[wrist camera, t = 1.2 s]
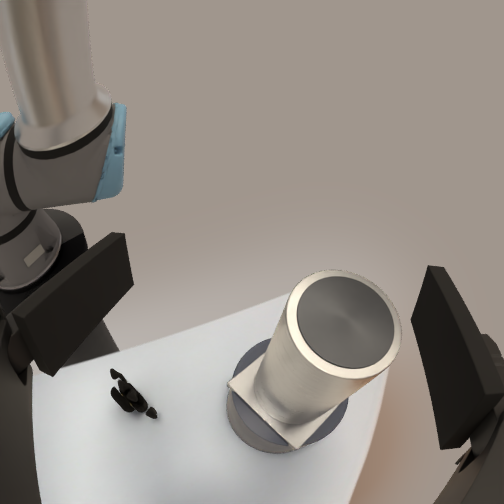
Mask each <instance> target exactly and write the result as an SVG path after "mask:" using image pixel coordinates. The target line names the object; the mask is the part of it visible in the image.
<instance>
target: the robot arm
mask: <svg viewBox="0 0 504 504" xmlns="http://www.w3.org/2000/svg"><path fill="white" fill-rule="evenodd" d="M87 5H88V4H87V0H0V47H1V52H2V56H3V59H4V63H5V67H6V70H7V73H8V77H9V80H10V83H11V87H12V90H13V93H14V96H15V99H16V102H17V105H18V107H19V110H20V115H19V116H18V118H17V121H16V123H14V121H15V118H14V117H13V116H12V114H11V113H10V112H3V113H0V291H1V292H3V293H6V294H18V293H23V292H26V291H28V290H30V289H32V288H34V287H36V286H38V285H39V284H40V283H42V282H43V281H44V280H45V279H46V278H47V277H48V276H49V275H50V274H51V273H52V272H53V271H54V269H55V268H56V266H57V265H58V263H59V261H60V258H61V256H62V252H63V238H62V235H61V233H60V230H59V228H58V226H57V225H56V223H55V222H54V221H53V220H52V219H51V218H50V217H49V215H48V214H47V213H46V212H45V211H44V210H43V208H49V207H56V206H63V205H71V204H78V203H87V202H96V201H97V200H101V199H106V198H111V197H114V196H116V195H118V194H119V193H120V191H121V190H122V187H123V175H124V172H123V171H124V147H125V128H126V127H125V126H126V106H125V105H124V104H118V103H114V104H113V105H112V101H111V95H110V92H109V91H108V89H107V88H106V87H105V86H104V85H102V84H100V83H97V82H95V79H94V72H93V64H92V56H91V45H90V34H89V21H88V6H87ZM133 285H134V282H133V277H132V273H131V267H130V262H129V256H128V251H127V245H126V239H125V234H124V233H115V232H111V233H110V234H109V235H107V236H106V237H105V238H103V239H102V240H100V241H99V242H98V243H96V244H95V245H94V246H92V247H91V248H90V249H88V250H87V251H86V252H84V253H83V254H82V255H80V256H79V257H78V258H76V259H75V260H74V261H72V262H71V263H70V264H69V265H67V266H66V267H65V268H64V269H62V270H61V271H60V272H58V273H57V274H56V275H55V276H54V277H52V278H51V279H50V280H49V281H47V282H46V283H44V284H43V285H42V286H40V287H39V288H38V289H37V290H36V291H35V292H33V293H32V294H31V295H30V296H29V297H27V298H26V299H25V300H24V301H23V302H22V303H20V304H19V305H18V306H17V307H16V308H15V309H14V310H12V311H11V312H10V313H9V314H8V315H7V316H5V314H4V311H3V309H2V307H1V304H0V504H42V503H41V498H40V492H39V486H38V479H37V472H36V463H35V453H34V441H33V422H32V376H33V372H32V367H31V365H30V363H31V362H32V361H33V360H34V361H35V362H36V364H37V366H38V368H39V370H40V371H42V372H44V373H46V374H48V375H50V376H52V377H53V376H54V375H55V374H56V373H57V371H58V370H59V369H60V368H61V367H62V365H63V364H64V363H65V362H66V361H67V359H68V358H69V357H70V356H71V355H72V354H73V352H74V351H75V350H76V349H77V348H78V347H79V345H80V344H81V343H82V342H83V341H84V340H85V338H86V337H87V336H88V335H89V334H90V333H91V332H92V330H93V329H94V328H95V327H96V326H97V325H98V324H99V322H100V321H101V320H102V319H103V318H104V317H105V316H106V315H107V314H108V312H109V311H110V310H111V309H112V308H113V307H114V306H115V305H116V304H117V303H118V301H119V300H120V299H121V298H122V297H123V296H124V295H125V294H126V293H127V292H128V291H129V289H130V288H131V287H132V286H133ZM411 323H412V326H413V330H414V333H415V336H416V340H417V344H418V347H419V351H420V355H421V358H422V363H423V366H424V370H425V375H426V379H427V383H428V387H429V392H430V396H431V401H432V406H433V411H434V416H435V422H436V427H437V432H438V438H439V445H440V449H441V450H444V449H453V448H460V447H461V446H462V445H463V444H464V443H465V442H466V441H467V440H468V439H469V437H470V441H471V447H470V449H469V450H468V451H467V452H466V453H465V454H464V455H462V457H461V458H459V459H458V461H457V462H456V463H455V464H457V465H458V464H459V463H460V464H459V466H458V467H457V469H456V471H455V472H454V474H453V475H452V477H451V478H450V480H449V482H448V483H447V485H446V486H445V488H444V489H443V491H442V492H441V493H440V495H439V496H438V498H437V499H436V500H435V502H434V504H504V359H503V357H501V353H500V350H499V348H498V346H497V344H496V343H495V342H494V341H493V340H492V339H491V338H490V337H489V336H488V335H487V334H481V333H480V331H479V329H478V327H477V326H476V323H475V322H474V320H473V318H472V316H471V314H470V312H469V310H468V308H467V306H466V305H465V303H464V301H463V299H462V297H461V295H460V294H459V292H458V291H457V288H456V287H455V285H454V283H453V282H452V280H451V278H450V277H449V275H448V273H447V272H446V270H445V268H444V267H438V266H429V265H428V267H427V271H426V274H425V277H424V281H423V284H422V287H421V290H420V294H419V296H418V300H417V303H416V305H415V308H414V311H413V314H412V317H411Z"/></svg>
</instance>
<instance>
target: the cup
mask: <svg viewBox="0 0 504 504" xmlns="http://www.w3.org/2000/svg"><path fill="white" fill-rule="evenodd" d="M401 340H402V329H401V322H400V319H399V316H398V313H397V311H396V308H395V307H394V305H393V303H392V302H391V300H390V299H389V298H388V297H387V295H386V294H385V293H384V292H383V291H382V290H381V289H380V288H379V287H378V286H377V285H375V284H374V283H373V282H371V281H369V280H368V279H366V278H364V277H362V276H360V275H357V274H354V273H352V272H348V271H342V270H324V271H319V272H316V273H313V274H311V275H309V276H307V277H305V278H304V279H303V280H301V281H300V282H299V283H298V284H297V285H296V286H295V287H294V289H293V290H292V292H291V294H290V296H289V298H288V300H287V303H286V305H285V308H284V310H283V313H282V315H281V317H280V320H279V322H278V325H277V327H276V329H275V332H274V334H273V336H272V339H271V341H270V343H269V346H268V348H267V350H266V353H265V355H264V357H263V360H262V362H261V364H260V366H259V369H258V371H257V374H256V377H255V393H256V396H257V399H258V401H259V403H260V405H261V406H262V408H263V409H264V410H265V411H266V412H267V413H268V414H269V415H270V416H272V417H273V418H275V419H277V420H279V421H281V422H284V423H288V424H304V423H308V422H311V421H313V420H315V419H317V418H318V417H320V416H322V415H323V414H325V413H326V412H328V411H329V410H331V409H332V408H334V407H335V406H337V405H338V404H339V403H341V402H342V401H344V400H345V399H347V398H348V397H349V396H351V395H352V394H354V393H355V392H356V391H358V390H359V389H360V388H362V387H363V386H365V385H366V384H367V383H369V382H370V381H371V380H372V379H374V378H375V377H376V376H378V375H379V374H380V373H381V372H383V371H384V370H385V369H386V368H387V367H389V366H390V364H391V363H392V362H393V361H394V359H395V358H396V356H397V354H398V351H399V349H400V345H401Z"/></svg>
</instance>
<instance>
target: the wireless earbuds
mask: <svg viewBox="0 0 504 504" xmlns="http://www.w3.org/2000/svg"><path fill="white" fill-rule="evenodd" d="M110 373H111V377H112V378H113V379H117V378H120V379H121V380H122V381H121V380H118V386H119V391H120V392H119V391H118V390H117V389H116V388H115V387H113V388H112V389H111V396H112V397H113V399H114V400H115V401H116V402H117V403H118V404H119V405H120V407H121V408H122V409H123V410H124V411H126V412H133V411H134V410H137V411H138V412H145V411H146V410H147V408H148V404H147V402H146V401H145V399H144V398H143V397H142V396H141V395H140V393H139V392H138V391H137V390H136V389H135V388H134V387H133V386H132V385H131V384H130V383H127V381H126V379H125V378H124V376H123V375H122V374H121V373H119V372H117V371H115V370H114V369H110ZM121 394H122V395H123V396H122V395H121ZM131 405H132V406H133V407H134V408H133V407H132V406H131ZM156 414H157V412H156V410H155V409H154V408H153V407H150V408H149V409H148V411H147V412H146V415H147V416H148V417H150V418H153V419H156V418H157V415H156Z"/></svg>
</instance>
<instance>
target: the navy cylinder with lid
mask: <svg viewBox="0 0 504 504" xmlns="http://www.w3.org/2000/svg"><path fill="white" fill-rule="evenodd" d="M271 339H272V338H270V339H267V340H264V341H262V342H260V343H258V344H256V345H255V346H254V347H252V348H251V349H250V350H249V351H247V352H246V353H245V355H244V356H243V357H242V358H241V360H240V361H239V363H238V365H237V367H236V369H235V371H234V375H233V378H232V379H231V380H230V381H229V382H228V383H227V386H228V387H229V388H230V390H229V394H228V398H227V415H228V419H229V422H230V424H231V426H232V428H233V430H234V431H235V433H236V434H237V435H238V437H239V438H240V439H241V440H242V441H244V442H245V443H246V444H248V445H249V446H251V447H253V448H255V449H257V450H260V451H263V452H267V453H286V452H291V451H293V450H294V451H295V450H297V449H299V448H302V447H304V446H307V445H309V444H312V443H314V442H316V441H319V440H320V439H322V438H324V437H325V436H327V435H328V434H330V433H331V432H332V431H333V430H334V429H335V428H336V427H337V425H338V424H339V423H340V421H341V420H342V418H343V416H344V414H345V411H346V409H347V404H348V398H349V397H348V398H347V399H345V400H344V401H342V402H341V403H339V404H338V405H337V406H335V407H334V408H332V409H331V410H329V411H328V412H326V413H325V414H323V415H322V416H320V417H318V418H317V419H315V420H313V421H311V422H308V423H304V424H288V423H284V422H281V421H279V420H277V419H275V418H273V417H272V416H270V415H269V414H268V413H267V412H266V411H265V410H264V409H263V408H262V406H261V405H260V403H259V401H258V399H257V396H256V393H255V377H256V374H257V371H258V369H259V366H260V364H261V362H262V360H263V357H264V355H265V353H266V350H267V348H268V346H269V343H270V341H271Z"/></svg>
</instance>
